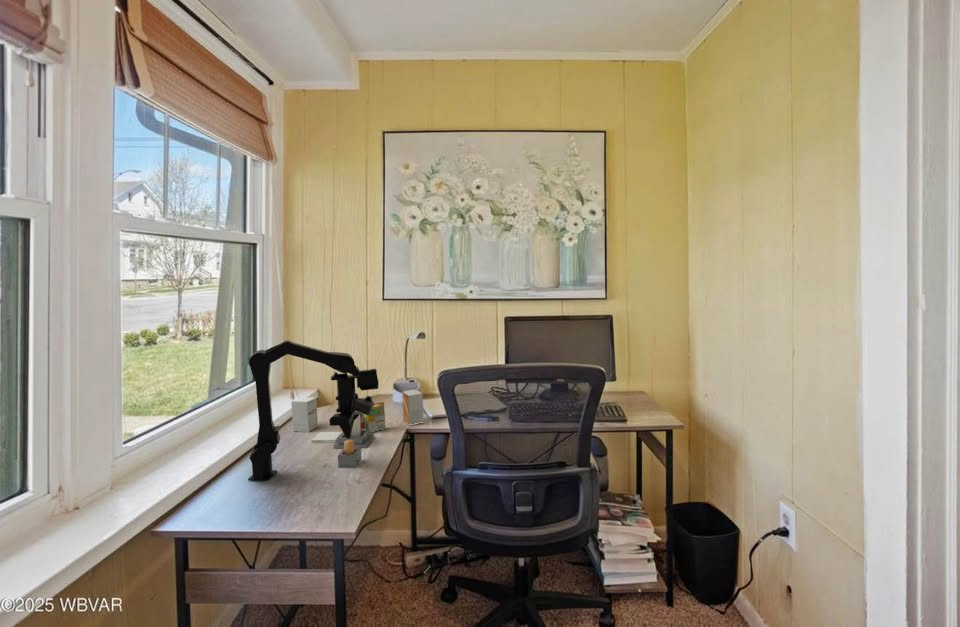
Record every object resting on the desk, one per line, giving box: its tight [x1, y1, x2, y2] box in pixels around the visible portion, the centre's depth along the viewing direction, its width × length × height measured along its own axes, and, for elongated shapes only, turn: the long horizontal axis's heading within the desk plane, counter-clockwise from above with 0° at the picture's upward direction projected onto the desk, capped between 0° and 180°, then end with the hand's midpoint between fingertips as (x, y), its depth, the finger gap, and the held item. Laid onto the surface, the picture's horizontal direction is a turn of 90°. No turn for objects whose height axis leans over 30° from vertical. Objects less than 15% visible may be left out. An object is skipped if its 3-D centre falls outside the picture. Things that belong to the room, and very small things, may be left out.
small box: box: [401, 389, 425, 425], centre depth 199 cm, size 8×6×13 cm
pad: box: [310, 431, 343, 444], centre depth 182 cm, size 9×9×1 cm
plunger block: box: [337, 448, 362, 468], centre depth 157 cm, size 6×6×4 cm
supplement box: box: [290, 396, 319, 433], centre depth 194 cm, size 7×7×13 cm
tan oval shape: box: [343, 440, 355, 454], centre depth 157 cm, size 3×3×5 cm
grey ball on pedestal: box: [350, 410, 362, 438], centre depth 176 cm, size 5×5×12 cm
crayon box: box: [364, 401, 386, 434], centre depth 189 cm, size 7×3×12 cm, turn 126°
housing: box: [332, 429, 375, 450], centre depth 177 cm, size 12×12×3 cm
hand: (348, 438), depth 156 cm, fingers closed
